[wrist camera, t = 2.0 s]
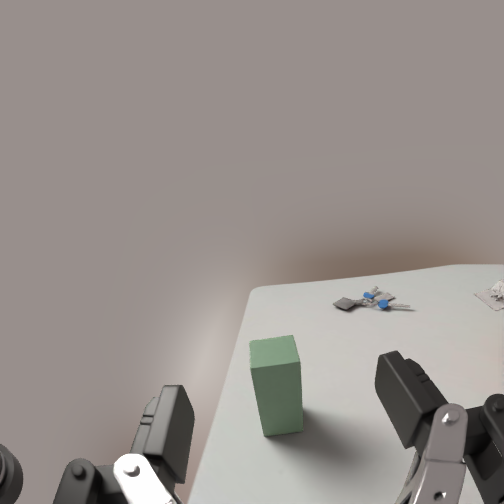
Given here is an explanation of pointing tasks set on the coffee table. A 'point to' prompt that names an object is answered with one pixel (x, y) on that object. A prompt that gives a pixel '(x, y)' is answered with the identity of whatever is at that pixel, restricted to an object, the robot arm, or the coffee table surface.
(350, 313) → the coffee table surface
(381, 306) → the key chain
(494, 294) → the small white envelope
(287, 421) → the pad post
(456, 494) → the robot arm
